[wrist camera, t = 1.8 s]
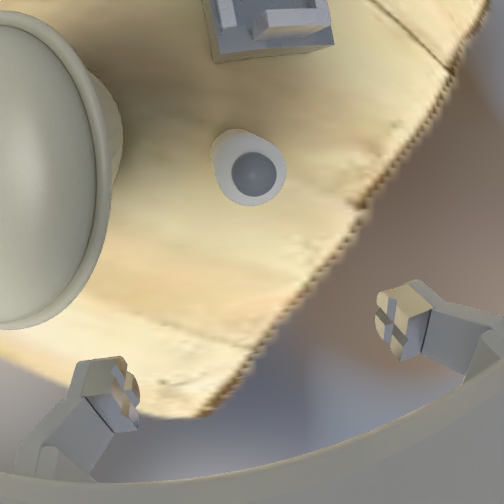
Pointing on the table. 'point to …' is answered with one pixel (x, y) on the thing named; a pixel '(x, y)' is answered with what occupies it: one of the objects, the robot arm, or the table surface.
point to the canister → (50, 170)
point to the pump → (247, 167)
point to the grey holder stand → (266, 28)
